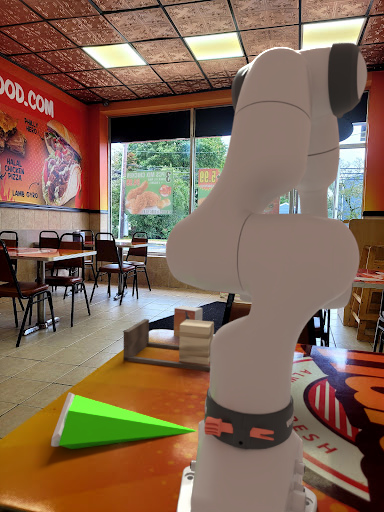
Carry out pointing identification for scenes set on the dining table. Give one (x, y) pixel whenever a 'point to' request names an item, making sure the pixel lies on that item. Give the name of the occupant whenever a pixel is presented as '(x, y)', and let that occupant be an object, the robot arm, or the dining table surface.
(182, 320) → the small box
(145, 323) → the bay
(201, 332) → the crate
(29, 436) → the dining table surface
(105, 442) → the paper cone
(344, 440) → the dining table surface
